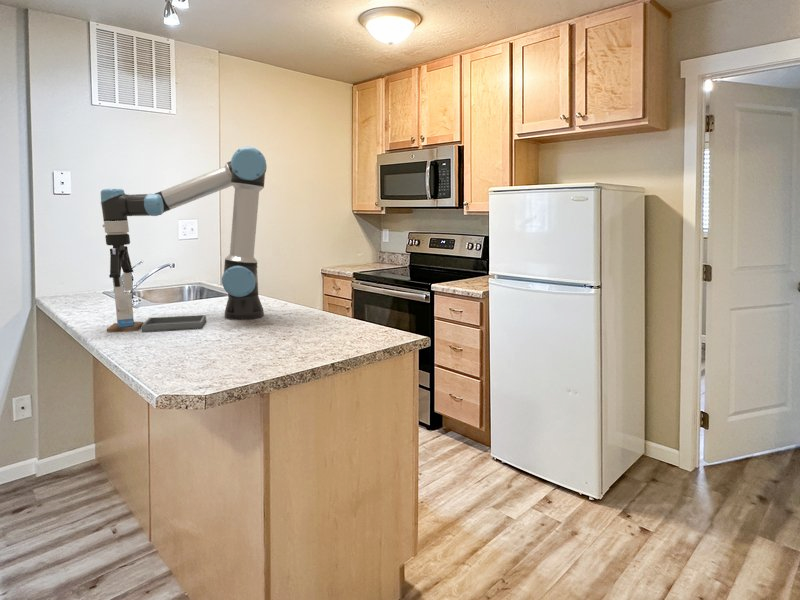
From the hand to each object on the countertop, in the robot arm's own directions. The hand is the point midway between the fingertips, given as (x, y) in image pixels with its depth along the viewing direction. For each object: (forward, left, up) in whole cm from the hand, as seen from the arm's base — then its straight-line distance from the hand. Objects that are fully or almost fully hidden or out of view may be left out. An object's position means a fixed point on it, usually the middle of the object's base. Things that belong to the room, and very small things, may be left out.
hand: (124, 293), depth 190 cm
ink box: (0, 0, -12) cm, 12 cm away
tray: (-17, +1, -13) cm, 21 cm away
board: (0, 0, -13) cm, 13 cm away
